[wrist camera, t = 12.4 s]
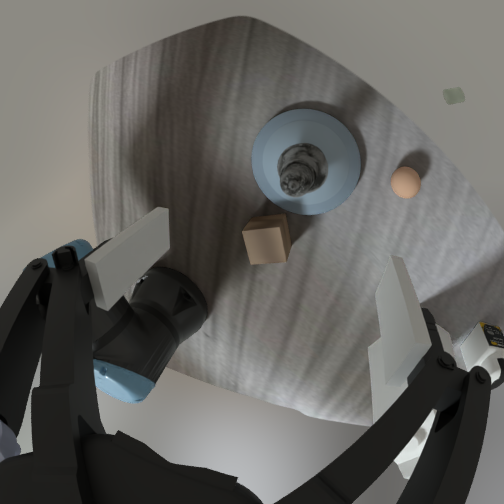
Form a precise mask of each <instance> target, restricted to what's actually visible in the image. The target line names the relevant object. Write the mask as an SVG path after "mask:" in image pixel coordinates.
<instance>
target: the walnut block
mask: <svg viewBox="0 0 504 504" xmlns="http://www.w3.org/2000/svg"><path fill="white" fill-rule="evenodd" d="M242 234H243V237H244V241H245V245H246V249H247V252H248V256H249V260H250V264H251V265H253V264H267V263H281V262H287V259H288V256H289V253H290V249H291V246H292V244H291V238H290V233H289V228H288V223H287V218H286V213H283V214H275V215H267V216H259V217H252V218H251V219H250V221H249V222H248V223H247V225H246V226H245V228H244V229H243V230H242Z"/></svg>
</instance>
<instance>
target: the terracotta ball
mask: <svg viewBox="0 0 504 504" xmlns="http://www.w3.org/2000/svg"><path fill="white" fill-rule="evenodd" d="M391 186H392V189H393V191H394V192H395V193H396V194H397V195H398V196H400V197H402V198H412V197H414V196H415V195H416V194H417V193H418V192H419V190H420V186H421V181H420V177H419V175H418V174H417V172H416V171H415V170H413V169H412V168H410V167H400V168H398V169H396V170H395V171H394V173H393V174H392V177H391Z"/></svg>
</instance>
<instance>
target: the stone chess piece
mask: <svg viewBox="0 0 504 504" xmlns="http://www.w3.org/2000/svg"><path fill="white" fill-rule="evenodd" d="M277 171H278V175H279V178H280V187H281V189H282V191H283V192H284V193H285V194H286V195H288V196H290V197H301V196H303V195H305V194H306V193H311V192H314V191H316V190H317V189H319V188H320V187H321V186H322V185H323V184H324V183H325V181H326V179H327V176H328V163H327V160H326V158H325V155H324V154H323V152H322V151H321V150H320V149H319V148H318V147H317V146H315V145H313V144H309V143H300V144H295V145H292V146H290V147H288V148H287V149H285V150H284V151H283V153H282V154H281V155H280V157H279V160H278V164H277Z"/></svg>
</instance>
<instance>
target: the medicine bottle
mask: <svg viewBox="0 0 504 504" xmlns="http://www.w3.org/2000/svg"><path fill="white" fill-rule="evenodd" d="M460 349H461V352H462V355H463V358H464V361H465V364H466V368H467V371H468V372H469V371H470V370H471V369H472V368H473V367H474V366H481V367H483V368H485V369H486V370H487V371H488V373H489V374H490V377H491V382H492V383H491V390H492V389H494V388H497V387H498V386H500V385H501V384H502V383H503V382H504V336H503V334H502V332H501V329H500V328H499V327H498V326H494V325H491V324H487V323H484V322H478V324H477V325H476V326H475V328H474V329H473V330H472V332H471V333H470V334H469V336H468V337H467V338H466V340H465V341H464V342H463V343H462V345H461V346H460Z"/></svg>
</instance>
